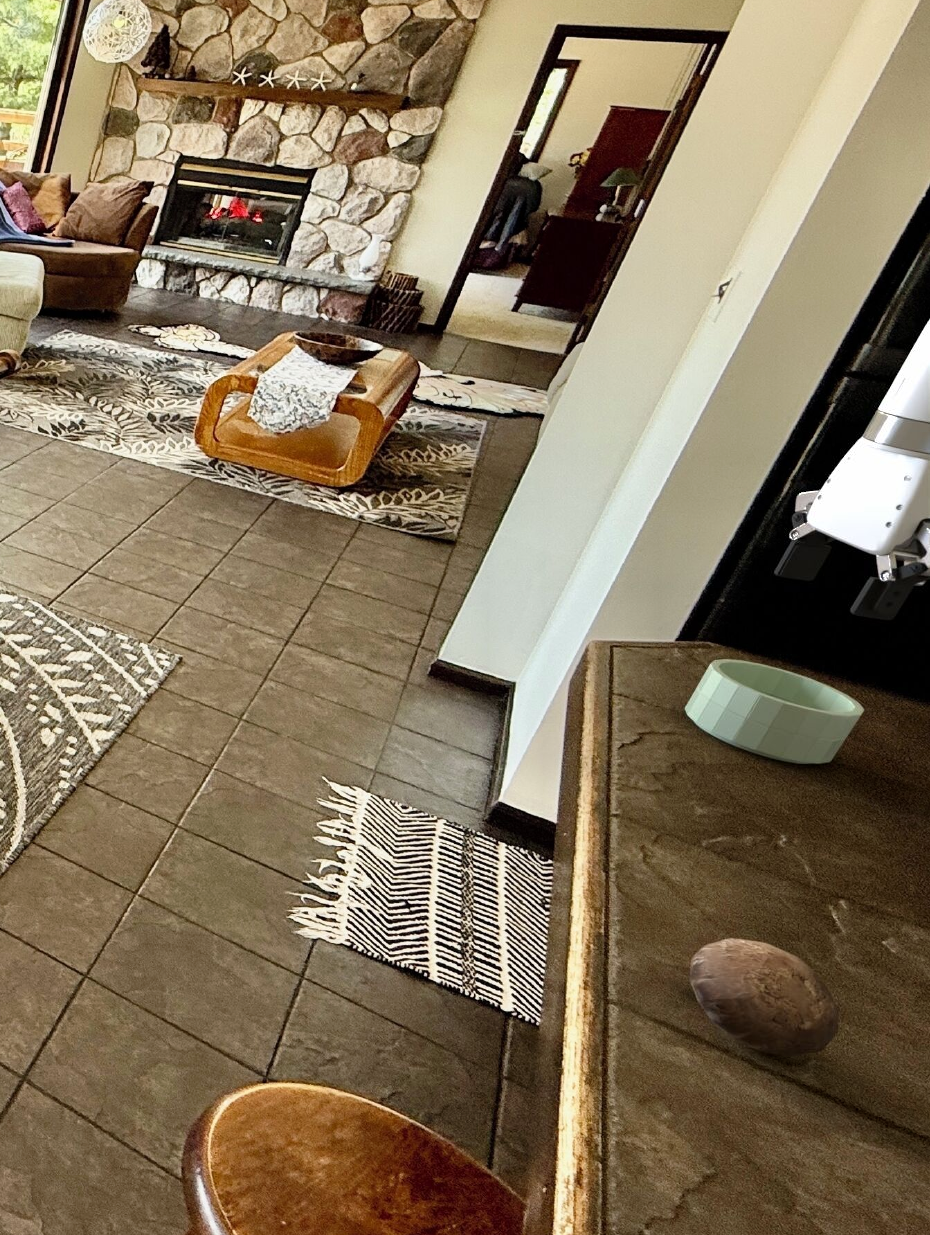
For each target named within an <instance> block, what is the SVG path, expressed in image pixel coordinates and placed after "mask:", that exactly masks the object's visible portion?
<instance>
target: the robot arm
mask: <svg viewBox="0 0 930 1235" xmlns="http://www.w3.org/2000/svg"><path fill="white" fill-rule="evenodd" d="M794 506H795V507H794V512H795V513H794V514H793V515H792V516H791V522H792V526H793V529H792V530H791V531H790V532H789V539H790V540H791V542H790V543H789V545H788V547H787V548H786V550H785V552H784V554H783V555H782V557H781V559H780V561H779V563H778V564H777V566H776V568H775V570H774V572H773V574H774V575H775V576H777V577H779V578H784V579H792V580H799V581H806V582H810V581H813V580H815V578H816V576H817V574H818V573H819V571H820V569H821V568H822V566H823V564H824V563H825V561H826V559H827V558H828V556H829V554H830V553H831V550H832V549H833V546H830V545H828V544H829V543H830V542H833V541H835V540H837V541H839V542H841V543H844V544H847V545H848V546H851V547H853V548H856V549H858V550H860V551H863V552H865V553H868V554H870V555H873V556H875V559H876V565H877V573H878V577H877V576H870V577H869V579H867V581H866V583H865V584H864V586H863V588H862V589H861V591H860V592H859V594H858V595H857V597H856V599H855V601H854V602H853V604H852V606H851V607H850V610H849V612H850V614H852V615H854V616H857V617H861V618H862V617H864V618H870V619H876V620H883V621H892V620H893V619H894V618H895V617H896V616H897V614H898V613H899V611H900V609H901V608H902V606H903V605H904V603H905V602H906V600H907V598H908V597H909V595H910V593H911V592H912V590H913V588H914V587H915V586H916V587H920V586H923V585H924V584H925V583H926V582H927V581H929V580H930V319H929V320H928V321H927V323H926V324H925V326H924V328H923V330H922V331H921V333H920V335H919V336H918V338H917V340H916V342H915V343H914V344H913V347H912V349H911V350H910V352H909V354H908V356H907V357H906V359H905V361H904V362H903V364H902V365H901V368H900V370H899V371H898V372H897V375H896V376H895V378H894V380H893V382H892V384H891V386H890V388H889V389H888V391H887V392H886V394H885V396H884V398H883V399H882V401H881V403H880V405H879V407H878V408H877V410H876V411H875V414H874V415H873V416H872V418H871V420H870V421H869V423H868V425H867V427H866V428H865V431H864V433H863V434H862V436H861V437H860V438H859V439H857V441H856V442H855V444H853V445H852V447H851V448H850V449H849V450H848V451H847V453H846V454H845V455H844V457H843V458H842V459H840V461H839V463H838V464H837V466H835V468H834V470H833V471H832V472H831V474H829V476H828V479H827V480H826V481H825V482H824V484H823V486H822V487H821V489H819V490H813V491H806V492H801V493H799V494H797V496H796V498H795V505H794ZM897 561H900V562H903V565H902V566H898V565H897Z"/></svg>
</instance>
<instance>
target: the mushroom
mask: <svg viewBox="0 0 930 1235" xmlns="http://www.w3.org/2000/svg"><path fill="white" fill-rule="evenodd" d="M689 982H690V985H691V987H692V990H693V992H694V996H695V998H696V1000H697V1002H698V1004H699V1005H700V1007H701V1008H702V1009H703V1011H704V1012H705V1014H706V1015H707V1016H708V1018H709V1019H710V1021H711V1022H712V1023H713V1024H715V1025H716V1026H717V1027H718V1028H720V1030H722V1031H723V1032H724V1033H726V1034H727V1035H728V1036H729V1037H731V1038H732V1039H734V1040H735V1041H737V1042H739V1043H740V1044H743V1045H746V1046H748V1047H750V1048H752V1049H754V1050H756V1051H759V1052H760V1053H761V1052H762V1053H768V1054H774V1055H781V1056H782V1055H783V1056H788V1057H789V1056H791V1057H792V1056H798V1055H799V1056H800V1055H806V1054H815V1053H820V1052H822V1051H824V1050H825V1049H826V1047H827V1046H828V1045H829V1044H830V1043H831V1042H832V1041H833V1039H834V1038H835V1037H836V1036H837V1035H838V1033H839V1009H838V1007H837V1005H836V1003H835V1000H834V998H833V995H832V994H831V991H830V990H829V988H828V987H827V986H826V984H825V982H823V980H822V978H821V977H820V976H819V974H818V973H816V971H814V970H813V969H812V968H811V967H810V966H809V965H808V964H807V963H806V962H805V961H803V959H801V958H800V957H798V956H797V955H794V954H793V953H790V952H788V951H785V950H783V949H781V948H778V947H776V946H774V945H772V944H770V943H767V942H764V941H763V942H762V941H755V940H749V939H743V938H734V937H733V938H732V937H729V938H725V939H722V940H718V941H715V942H710V943H708V944H707V943H706V944H704V945H703V946H702V947H701V948H700V949H699V950H698V951H697V952H696V953H695V954H694V955H693V956H692V957H691V960H690V968H689Z"/></svg>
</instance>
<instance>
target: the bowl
mask: <svg viewBox="0 0 930 1235" xmlns="http://www.w3.org/2000/svg"><path fill="white" fill-rule="evenodd" d="M684 711H685V713H686V716H688V717H689V718H690V719H691V720H692V721H693V723H694V724H695V725H696V726H698V727H699V728H700V729H701V730H702V731H704V732H706V733H708V734H710V735H711V736H712V737H714V738H717V739H718V740H720V741H723V742H725V743H727V744H729V745H732V746H733V747H737V748H739V749H742V750H744V751H747V752H749V753H753V754H756V755H759V756H762V757H765V758H769V759H774V760H778V761H781V762H787V763H792V764H800V765H801V764H802V765H804V764H805V765H807V764H808V765H809V764H825V763H831V761H832V760H833V759H834V758H835V756H836V755H837V753H838V751H839V750H840V748H841V747H842V745H843V744H844V742H845V741H846V740H847V738H848V736H849V735H850V733H851V732H852V730H853V729H854V727H855V726H856V724H857V723H858V721H859V720H860V718H861V717H862V715H863V714H864V712H865V708H864V707H863V706H862V704H861V703H859V702H858V701H857V700H856V699H854V698H853V697H851V696H849V695H848V694H846V693H844V692H842V691H840V690H838V689H836V688H834V687H832V686H830V685H828V684H826V683H822V682H820V681H817V680H815V679H813V678H810V677H807V676H804V675H801V674H798V673H795V672H792V671H789V670H786V669H782V668H778V667H774V666H772V665H771V666H770V665H767V664H762V663H757V662H752V661H747V660H741V659H730V658H721V659H714V660H713V661H712V662H711V663H709V666H708V667H707V668H706V671H705V672H704V674H703V676H702V677H701V679H700V681H699V682H698V685H697V686H696V688H695V690H694V692H693V693H692V695H691V696H690V699H688V702H687V703H686V705H685V707H684Z"/></svg>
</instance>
